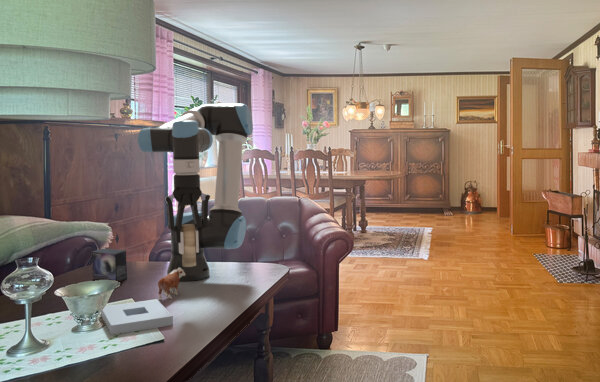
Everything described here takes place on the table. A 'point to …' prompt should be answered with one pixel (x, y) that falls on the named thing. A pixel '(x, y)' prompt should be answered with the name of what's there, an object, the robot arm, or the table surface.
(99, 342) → the table surface
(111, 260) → the small box
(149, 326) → the socket board
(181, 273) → the bull figurine
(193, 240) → the peg
